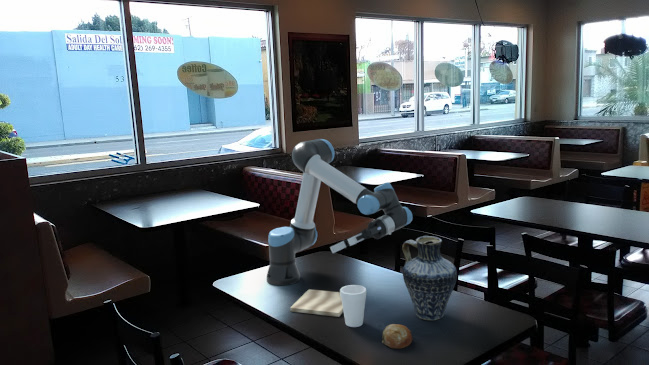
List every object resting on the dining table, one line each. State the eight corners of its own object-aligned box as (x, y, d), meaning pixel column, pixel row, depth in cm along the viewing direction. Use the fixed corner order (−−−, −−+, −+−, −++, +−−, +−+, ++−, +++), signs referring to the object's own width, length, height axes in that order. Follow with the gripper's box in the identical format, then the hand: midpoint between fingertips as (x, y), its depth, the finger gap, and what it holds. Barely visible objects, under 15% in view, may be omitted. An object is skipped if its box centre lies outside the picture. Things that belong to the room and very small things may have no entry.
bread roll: (382, 347, 183) (372, 329, 180) (405, 330, 185) (396, 312, 183) (395, 360, 173) (386, 341, 171) (420, 342, 176) (411, 323, 174)
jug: (463, 311, 201) (463, 234, 195) (447, 332, 184) (447, 248, 179) (411, 302, 211) (411, 229, 206) (392, 321, 195) (391, 242, 189)
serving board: (290, 311, 206) (290, 307, 206) (308, 292, 225) (308, 289, 225) (339, 316, 200) (339, 313, 200) (354, 297, 218) (353, 293, 218)
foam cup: (367, 318, 198) (366, 284, 196) (366, 329, 189) (366, 294, 187) (342, 317, 199) (340, 284, 197) (340, 328, 190) (339, 294, 188)
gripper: (402, 228, 202) (361, 248, 191) (368, 242, 223) (329, 261, 211) (394, 210, 203) (352, 229, 191) (360, 226, 224) (321, 244, 212)
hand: (340, 246), depth 201 cm, fingers open, 13 cm apart
